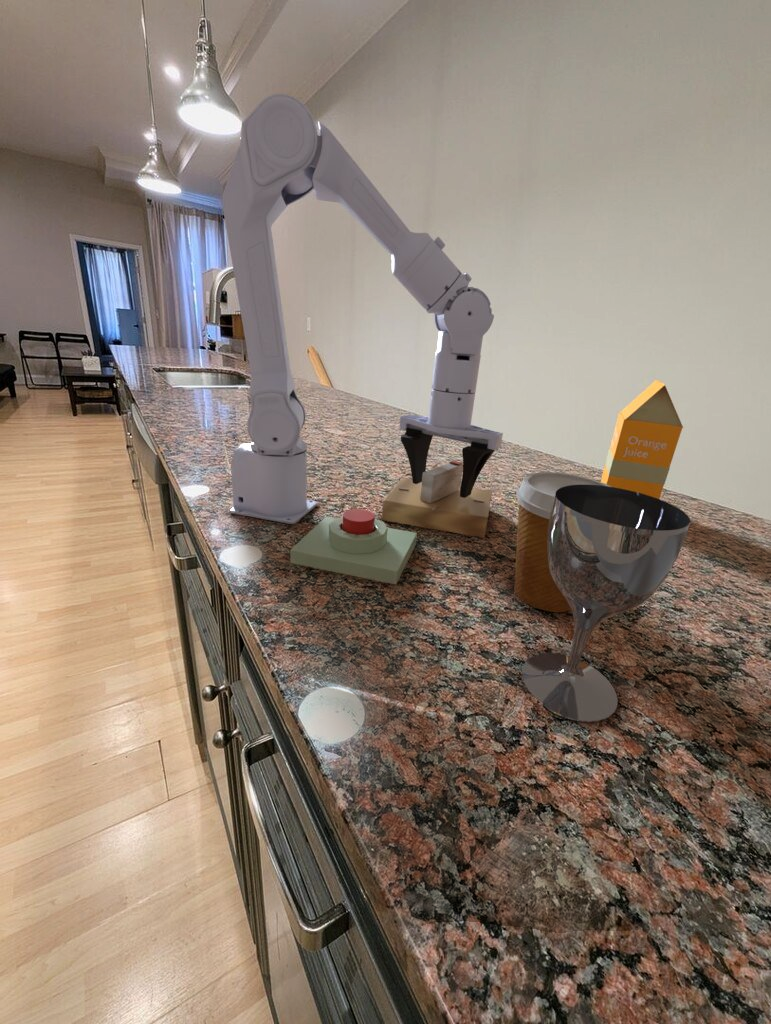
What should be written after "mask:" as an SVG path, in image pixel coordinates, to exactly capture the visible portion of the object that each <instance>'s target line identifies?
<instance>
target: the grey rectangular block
mask: <svg viewBox="0 0 771 1024" xmlns="http://www.w3.org/2000/svg"><path fill="white" fill-rule="evenodd" d="M462 475H463V462H460V461H456V460H451V461H449V463H446V464H442V465H440V466H436V467H434V468H432V469H429V470H428V469H427V470H426V472H423V476H422V485H421V495H420V500H422V501H425V502H428V503H433V502H435V501H437V500H439V499H441V498H444V497H446V496H448V495H450V494H452V493H455V492H457V491H459V490H460V486H461V482H462Z"/></svg>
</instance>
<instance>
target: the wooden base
mask: <svg viewBox="0 0 771 1024" xmlns="http://www.w3.org/2000/svg"><path fill="white" fill-rule="evenodd" d="M421 485H422V482H420V483H418V484H414V483H413V481H412V478H408V477H407V478H406V477H401V478H400V480H399V481H398V482H396V484H395V486H394V487H393V488H392V489H391V490H390V492H389V493H388V494H387V495H386V496H385V498H384V499H383V500H382V512H381V514H382V515H381V521H386V522H390V523H391V522H392V523H398V524H402V525H409V526H415V527H421V528H425V529H426V528H427V529H430V530H431V529H432V530H437V531H443V532H450V533H453V534H454V533H455V534H460V535H466V536H472V537H478V538H485V536H486V531H487V524H488V519H489V512H490V507H491V501H492V495H493V491H492V490H488V489H480V488H475V487H473V489H472V492H471V495H469V496H467V497H466V498H463V497H460V490H459V491H457V492H455V493H452V494H450V495H448V496H446V497H444V498H441V499H439V500H437V501H435V502H433V503H428V502H425V501H422V500H420V495H421ZM460 488H461V485H460Z"/></svg>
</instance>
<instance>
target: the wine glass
mask: <svg viewBox="0 0 771 1024" xmlns="http://www.w3.org/2000/svg"><path fill="white" fill-rule="evenodd" d="M690 525H691V519H690V517H689V515H688V514H687V513H686V512H684V511H683V510H682V509H680V508H679V507H677V506H675V505H673V504H671V503H669V502H667V501H664V500H662V499H660V498H659V499H657V498H654V497H651V496H648V495H645V494H642V493H638V492H634V491H630V490H625V489H620V488H615V487H608V486H600V485H570V486H565V487H561V488H560V489H558V490H557V491H556V493H555V496H554V500H553V504H552V508H551V513H550V519H549V525H548V538H547V561H548V567H549V571H550V574H551V576H552V579H553V581H554V583H555V584H556V586H557V587H558V589H559V590H560V592H561V593H562V595H563V596H564V598H565V599H566V601H567V602H568V604H569V606H570V608H571V610H570V611H571V612H572V613H571V614H572V616H573V621H574V625H573V626H574V627H573V628H574V629H573V637H572V643H571V649H570V654H569V655H567V654H562V653H557V652H542V653H539V654H537V655H533V656H531V657H530V658H528V659H527V660H526V661H524V663H523V666H522V669H521V676H522V677H521V678H522V681H523V682H524V685H525V688H526V689H527V690H528V692H529V693H530V694H531V695H532V696H533V697H534V698H535V699H536V700H537V701H538V702H540V703H541V704H542V707H543V708H544V709H546V710H548V711H550V712H551V713H553V714H555V715H558V716H560V717H562V718H565V719H568V720H572V721H577V722H580V723H581V722H583V723H596V722H602V721H605V720H607V719H609V718H610V717H612V716H613V715H614V714H615V713H616V711H617V708H618V704H619V699H618V695H617V692H616V690H615V688H614V687H613V685H612V683H611V682H610V681H609V680H608V679H607V677H606V676H605V675H603V674H602V673H601V672H600V671H599V670H598V669H596V667H593V666H592V665H590V664H588V663H587V662H585V661H583V660H581V659H582V657H583V653H584V651H585V649H586V646H587V644H588V642H589V640H590V639H591V636H592V634H593V632H594V631H595V629H596V628H597V627H598V626H599V625H600V624H601V623H603V622H605V621H606V620H608V619H610V618H612V617H614V616H618V615H620V614H622V613H625V612H628V611H630V610H633V609H636V608H637V607H639V606H641V605H642V604H644V603H646V602H647V601H648V600H650V599H651V598H652V597H653V595H655V594H656V592H657V591H658V590H659V588H660V587H661V586H662V585H663V583H664V581H665V580H666V579H667V577H668V576H669V573H670V572H671V570H672V568H673V567H674V565H675V563H676V561H677V559H678V556H679V554H680V552H681V550H682V547H683V544H684V542H685V539H686V537H687V535H688V531H689V528H690Z"/></svg>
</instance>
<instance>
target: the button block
mask: <svg viewBox="0 0 771 1024" xmlns="http://www.w3.org/2000/svg"><path fill="white" fill-rule="evenodd" d="M342 522H343V516H340V517H337V518H335V517H330V516H325V517H324V518H323V519H322V520H321V521H320V522H318V524H316V525H315V526H313V528H312V529H311V530H310V531H309V532H308V533H307V534H306V535H304V536H303V538H301V539H300V540H299V541H298V542H297V543H296V544H295V545H294V546H292V548H291V549H290V550H289V553H290V555H289V556H290V557H289V559H290V560H289V561H290V564H294V565H298V566H303V567H308V568H312V569H313V568H314V569H318V570H322V571H328V572H333V573H338V574H343V575H348V576H352V577H356V578H357V577H358V578H362V579H367V580H372V581H377V582H382V583H387V584H391V585H397V584H398V583H399V580H400V578H401V576H402V574H403V572H404V570H405V568H406V567H407V564H408V562H409V560H410V557H411V555H412V553H413V551H414V549H415V547H416V546H417V538H418V532H415V531H410V530H404V529H403V530H402V529H398V528H392V527H387V525H386V524H385V522H384V521H383V520H380V519H378V518H376V517H375V521H374V531H373V532H372V533H369V534H365V535H355V534H350V533H346V532H344V531H343V530H342Z"/></svg>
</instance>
